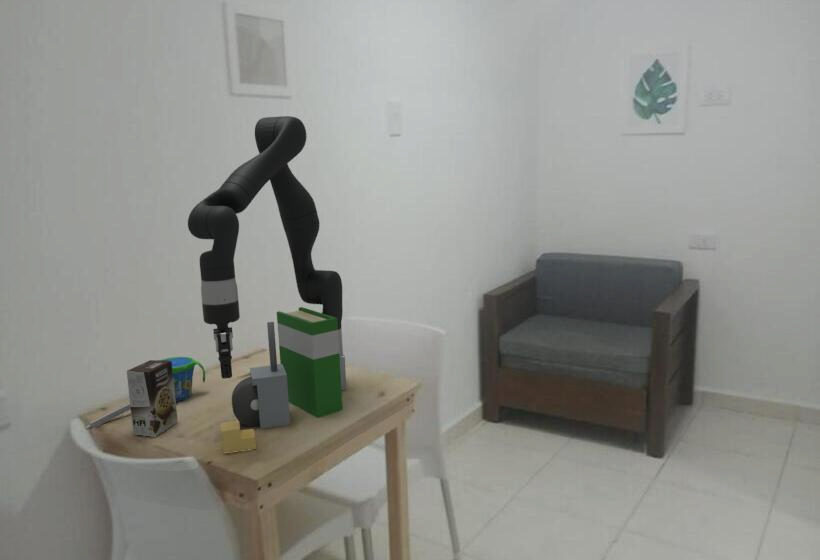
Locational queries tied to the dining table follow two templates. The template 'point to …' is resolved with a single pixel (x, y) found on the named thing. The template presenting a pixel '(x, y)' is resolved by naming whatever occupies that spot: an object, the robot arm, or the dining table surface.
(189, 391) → the snack cup
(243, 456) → the dining table surface
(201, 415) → the dining table surface
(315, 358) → the hardback book
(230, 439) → the wedge
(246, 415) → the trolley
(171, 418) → the coffee box
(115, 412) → the caliper
